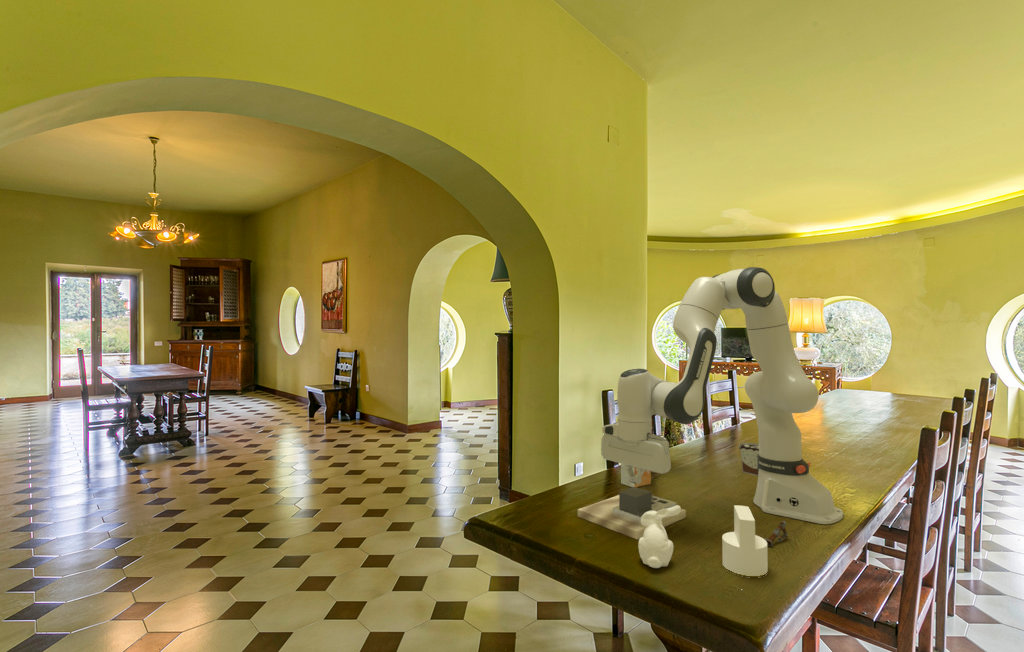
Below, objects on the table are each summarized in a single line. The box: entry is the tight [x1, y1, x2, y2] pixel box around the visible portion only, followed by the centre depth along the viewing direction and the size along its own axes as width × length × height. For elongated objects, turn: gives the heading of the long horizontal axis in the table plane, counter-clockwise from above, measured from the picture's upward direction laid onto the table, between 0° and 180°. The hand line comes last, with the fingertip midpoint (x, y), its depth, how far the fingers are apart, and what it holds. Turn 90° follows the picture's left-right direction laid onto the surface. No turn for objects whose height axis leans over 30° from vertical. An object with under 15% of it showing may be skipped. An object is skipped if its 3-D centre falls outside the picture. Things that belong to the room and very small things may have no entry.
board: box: [577, 494, 687, 540], centre depth 139 cm, size 20×22×2 cm
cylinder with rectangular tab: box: [721, 505, 769, 576], centre depth 110 cm, size 9×9×12 cm
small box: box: [620, 463, 652, 488], centre depth 168 cm, size 8×6×13 cm
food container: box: [738, 442, 759, 477], centre depth 178 cm, size 12×6×10 cm, turn 34°
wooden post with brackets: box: [763, 520, 789, 548], centre depth 122 cm, size 2×8×5 cm, turn 122°
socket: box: [613, 495, 677, 527], centre depth 136 cm, size 9×16×2 cm, turn 130°
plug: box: [618, 487, 653, 515], centre depth 134 cm, size 6×9×6 cm, turn 130°
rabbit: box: [637, 504, 682, 569], centre depth 113 cm, size 12×9×12 cm
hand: (634, 482), depth 133 cm, fingers closed
